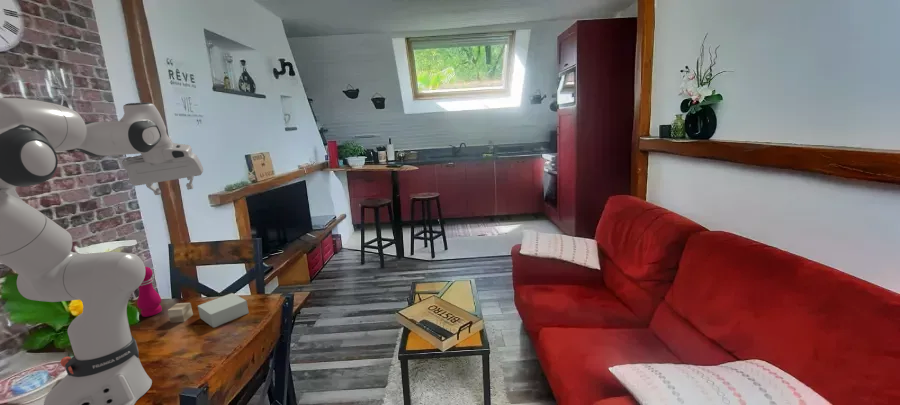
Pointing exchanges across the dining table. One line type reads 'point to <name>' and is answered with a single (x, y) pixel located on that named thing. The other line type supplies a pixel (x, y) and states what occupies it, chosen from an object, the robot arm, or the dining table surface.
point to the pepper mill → (148, 296)
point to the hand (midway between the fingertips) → (174, 191)
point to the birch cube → (180, 312)
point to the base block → (223, 309)
